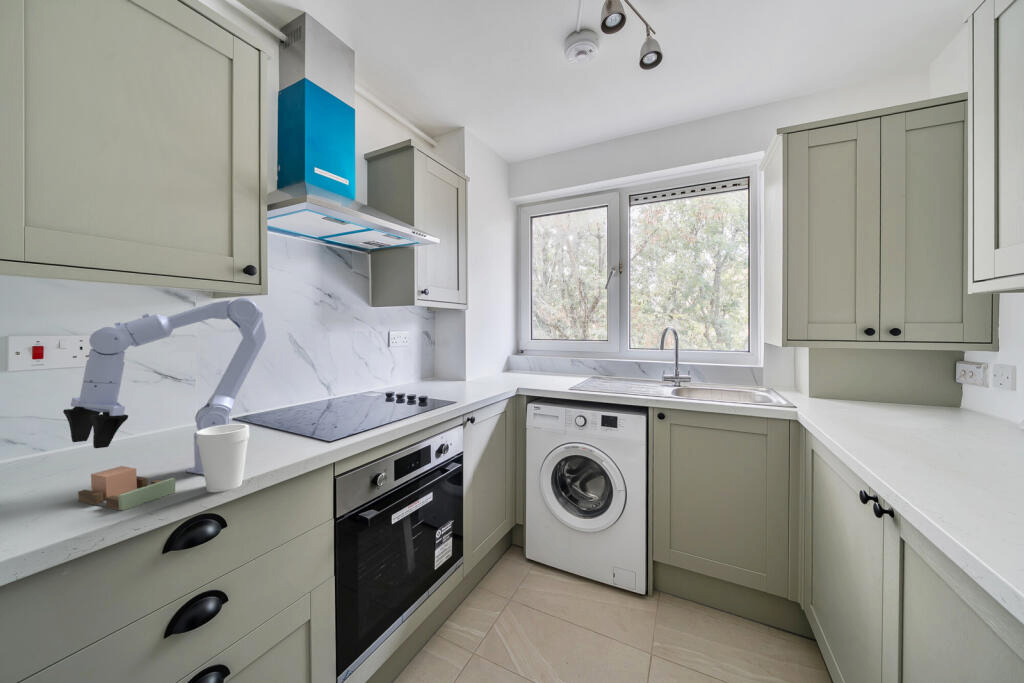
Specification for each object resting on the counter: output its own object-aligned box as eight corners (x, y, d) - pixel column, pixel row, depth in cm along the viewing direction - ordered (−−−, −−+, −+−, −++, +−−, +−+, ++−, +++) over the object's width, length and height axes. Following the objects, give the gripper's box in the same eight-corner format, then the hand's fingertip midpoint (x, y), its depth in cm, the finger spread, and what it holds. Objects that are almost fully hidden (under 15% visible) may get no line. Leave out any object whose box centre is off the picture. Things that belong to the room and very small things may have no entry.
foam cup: (259, 478, 90) (258, 423, 90) (231, 495, 81) (230, 434, 80) (218, 478, 90) (217, 424, 89) (186, 495, 80) (184, 434, 80)
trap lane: (133, 484, 86) (133, 471, 86) (175, 492, 82) (175, 478, 82) (78, 501, 78) (78, 486, 78) (122, 510, 74) (121, 495, 74)
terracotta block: (122, 488, 85) (121, 466, 84) (136, 491, 83) (136, 468, 83) (91, 497, 80) (91, 474, 80) (106, 500, 78) (105, 476, 78)
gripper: (56, 377, 81) (43, 441, 80) (98, 386, 77) (85, 453, 76) (100, 378, 88) (88, 436, 87) (141, 385, 84) (129, 447, 83)
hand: (90, 444), depth 82 cm, fingers open, 7 cm apart
